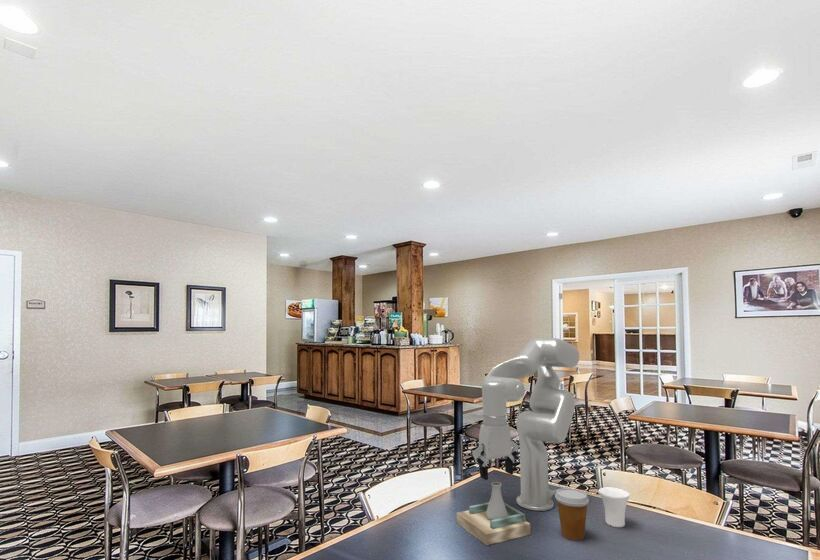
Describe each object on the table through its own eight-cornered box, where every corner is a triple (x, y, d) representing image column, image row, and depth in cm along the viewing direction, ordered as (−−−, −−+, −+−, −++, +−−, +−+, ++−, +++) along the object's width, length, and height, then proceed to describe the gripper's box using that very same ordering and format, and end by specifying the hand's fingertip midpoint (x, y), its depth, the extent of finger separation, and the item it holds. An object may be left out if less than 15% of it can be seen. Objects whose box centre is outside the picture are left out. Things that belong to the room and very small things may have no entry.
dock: (497, 513, 142) (497, 497, 143) (530, 534, 128) (530, 516, 129) (456, 522, 136) (456, 506, 136) (486, 545, 121) (486, 526, 122)
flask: (509, 523, 129) (508, 488, 130) (484, 520, 130) (484, 486, 131) (508, 513, 136) (507, 480, 137) (485, 511, 137) (484, 478, 138)
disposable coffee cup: (574, 546, 121) (572, 501, 122) (549, 532, 129) (548, 490, 131) (597, 539, 125) (595, 496, 127) (571, 525, 134) (570, 485, 135)
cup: (596, 516, 140) (594, 484, 142) (626, 519, 139) (625, 487, 140) (602, 528, 132) (600, 494, 133) (635, 532, 130) (633, 497, 131)
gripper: (509, 414, 143) (511, 467, 142) (465, 421, 136) (467, 476, 134) (524, 419, 137) (526, 474, 135) (479, 426, 129) (481, 484, 128)
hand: (496, 475), depth 135 cm, fingers open, 9 cm apart
